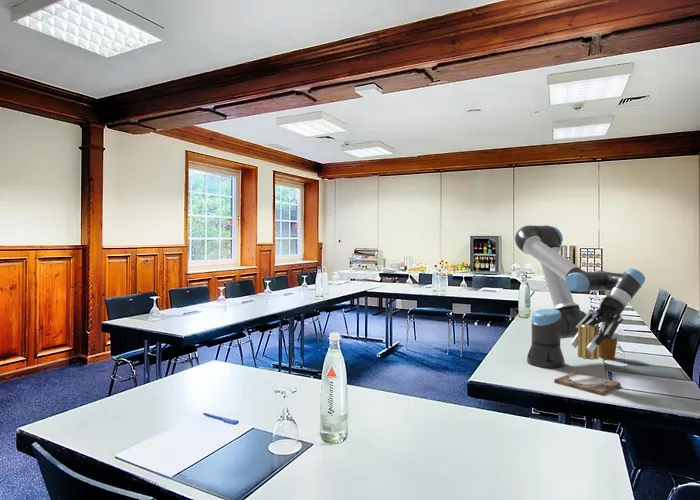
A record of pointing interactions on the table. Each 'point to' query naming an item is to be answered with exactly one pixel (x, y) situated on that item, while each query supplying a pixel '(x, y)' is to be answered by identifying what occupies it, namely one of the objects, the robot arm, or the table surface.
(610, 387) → the board
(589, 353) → the brass pinion gear
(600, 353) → the disposable coffee cup
